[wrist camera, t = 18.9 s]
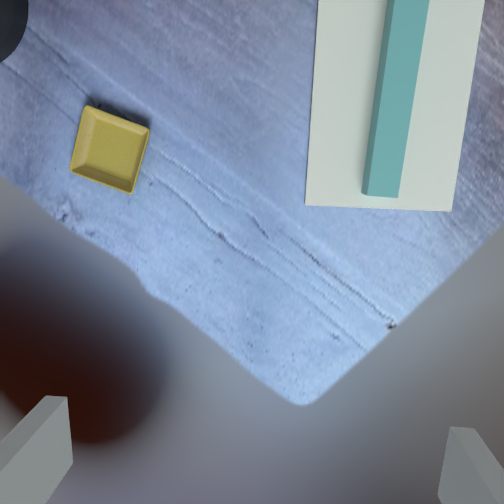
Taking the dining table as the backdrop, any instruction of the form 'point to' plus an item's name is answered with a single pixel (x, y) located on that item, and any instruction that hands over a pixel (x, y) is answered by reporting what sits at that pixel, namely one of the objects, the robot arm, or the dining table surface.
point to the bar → (394, 96)
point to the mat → (362, 98)
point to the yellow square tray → (109, 149)
